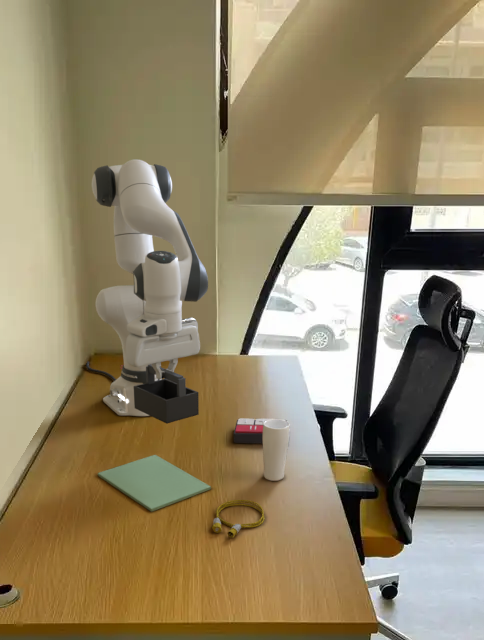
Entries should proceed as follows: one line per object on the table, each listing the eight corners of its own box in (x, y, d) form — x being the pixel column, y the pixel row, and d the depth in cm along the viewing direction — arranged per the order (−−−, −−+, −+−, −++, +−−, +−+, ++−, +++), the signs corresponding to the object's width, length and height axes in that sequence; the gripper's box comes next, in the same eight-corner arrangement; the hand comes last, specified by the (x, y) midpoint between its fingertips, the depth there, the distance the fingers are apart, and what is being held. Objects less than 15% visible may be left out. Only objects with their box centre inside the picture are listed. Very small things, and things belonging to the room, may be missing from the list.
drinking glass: (272, 468, 183) (275, 416, 177) (292, 477, 179) (295, 424, 172) (255, 476, 179) (257, 423, 172) (274, 485, 175) (277, 431, 168)
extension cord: (192, 520, 158) (192, 513, 157) (241, 499, 168) (241, 491, 167) (228, 542, 150) (228, 534, 149) (277, 518, 160) (278, 510, 159)
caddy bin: (134, 408, 178) (132, 367, 173) (165, 400, 184) (164, 360, 179) (166, 423, 168) (165, 381, 164) (198, 414, 174) (198, 373, 170)
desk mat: (97, 475, 177) (97, 472, 177) (155, 457, 188) (155, 454, 188) (151, 511, 161) (151, 508, 161) (210, 489, 172) (210, 486, 172)
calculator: (237, 416, 206) (287, 417, 204) (237, 430, 208) (287, 430, 206) (233, 431, 196) (285, 431, 195) (233, 444, 198) (285, 445, 196)
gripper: (189, 314, 175) (190, 366, 181) (120, 325, 162) (124, 382, 168) (205, 318, 170) (205, 372, 176) (136, 331, 158) (138, 388, 164)
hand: (165, 377), depth 172 cm, fingers closed on caddy bin
